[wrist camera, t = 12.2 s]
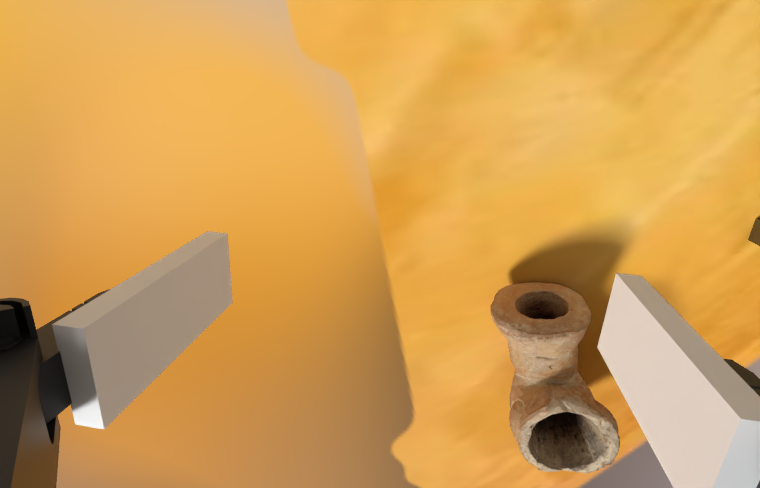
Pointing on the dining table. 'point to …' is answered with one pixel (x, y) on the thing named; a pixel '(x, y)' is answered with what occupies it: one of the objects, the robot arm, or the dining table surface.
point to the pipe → (552, 380)
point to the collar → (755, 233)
